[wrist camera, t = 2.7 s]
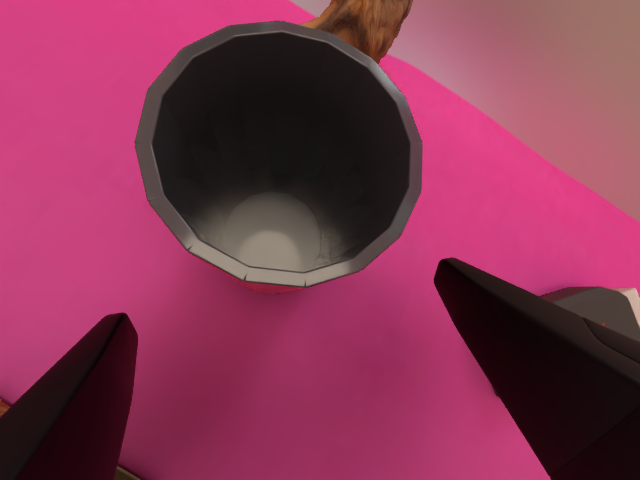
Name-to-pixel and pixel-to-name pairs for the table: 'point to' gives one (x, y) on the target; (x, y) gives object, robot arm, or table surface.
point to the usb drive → (602, 307)
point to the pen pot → (279, 155)
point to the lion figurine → (364, 23)
